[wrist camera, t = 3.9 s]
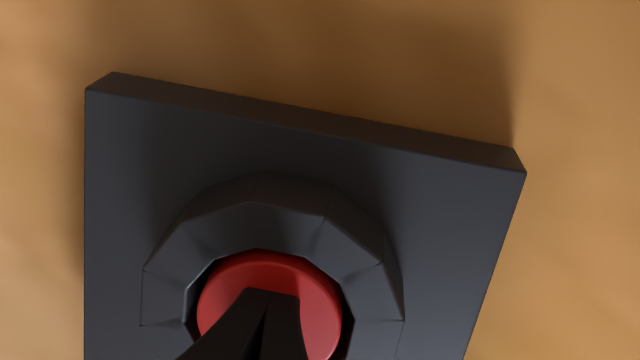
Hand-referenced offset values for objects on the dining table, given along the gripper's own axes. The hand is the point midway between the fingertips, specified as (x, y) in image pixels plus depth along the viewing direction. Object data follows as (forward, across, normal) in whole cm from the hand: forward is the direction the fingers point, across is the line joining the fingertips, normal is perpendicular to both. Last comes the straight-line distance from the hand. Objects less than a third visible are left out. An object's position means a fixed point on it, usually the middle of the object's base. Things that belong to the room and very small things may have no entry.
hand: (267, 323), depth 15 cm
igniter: (+3, 0, 0) cm, 3 cm away
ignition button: (+2, 0, 0) cm, 2 cm away
